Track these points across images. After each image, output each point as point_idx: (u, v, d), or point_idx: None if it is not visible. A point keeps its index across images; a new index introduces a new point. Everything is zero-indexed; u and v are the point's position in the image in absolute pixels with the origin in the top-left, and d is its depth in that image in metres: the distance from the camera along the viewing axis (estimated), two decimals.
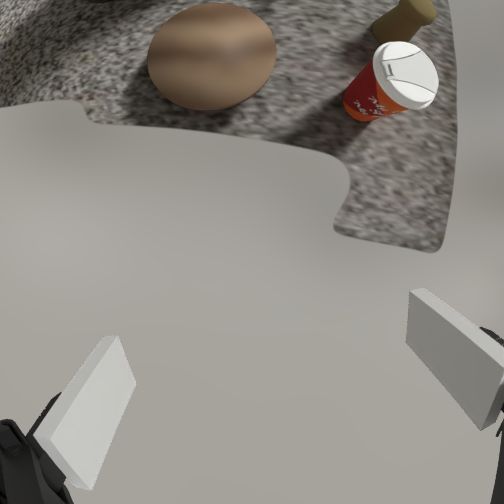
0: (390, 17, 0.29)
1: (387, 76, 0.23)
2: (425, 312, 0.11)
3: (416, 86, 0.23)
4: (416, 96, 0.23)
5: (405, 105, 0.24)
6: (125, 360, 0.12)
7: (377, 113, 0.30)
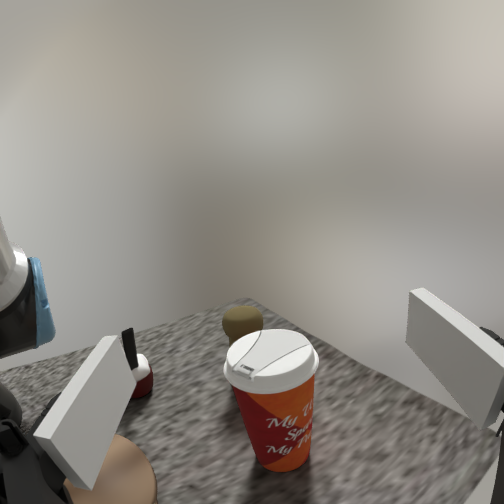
0: None
1: (250, 377, 0.21)
2: (425, 312, 0.11)
3: (286, 356, 0.22)
4: (295, 362, 0.21)
5: (297, 383, 0.20)
6: (125, 360, 0.12)
7: (296, 434, 0.22)
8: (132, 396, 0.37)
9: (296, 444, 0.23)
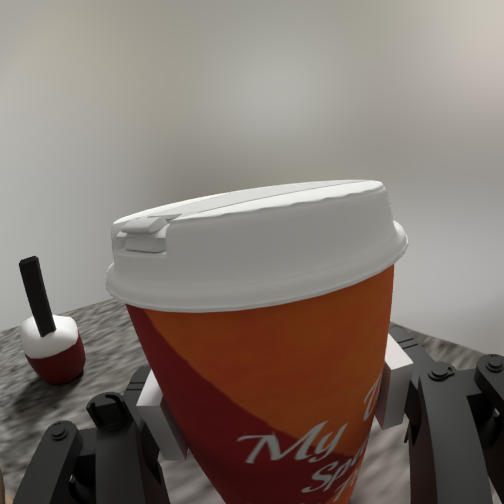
0: None
1: (162, 244, 0.05)
2: None
3: (303, 191, 0.06)
4: (341, 190, 0.05)
5: (362, 265, 0.05)
6: None
7: (334, 475, 0.07)
8: (50, 380, 0.21)
9: (330, 496, 0.07)
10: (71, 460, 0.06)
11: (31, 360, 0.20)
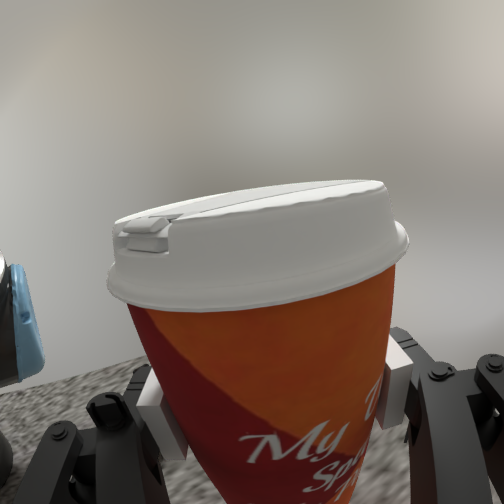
0: None
1: (163, 244, 0.05)
2: None
3: (305, 191, 0.06)
4: (343, 190, 0.05)
5: (364, 265, 0.05)
6: None
7: (335, 474, 0.07)
8: None
9: (331, 496, 0.07)
10: (71, 460, 0.06)
11: None
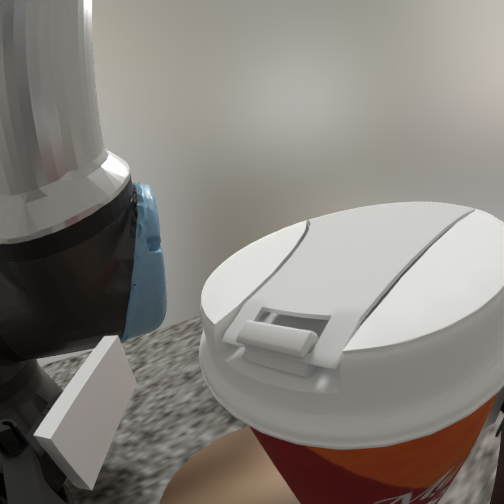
0: None
1: (314, 364, 0.04)
2: None
3: (438, 246, 0.05)
4: (491, 254, 0.04)
5: None
6: (125, 360, 0.12)
7: (440, 496, 0.05)
8: None
9: None
10: None
11: None
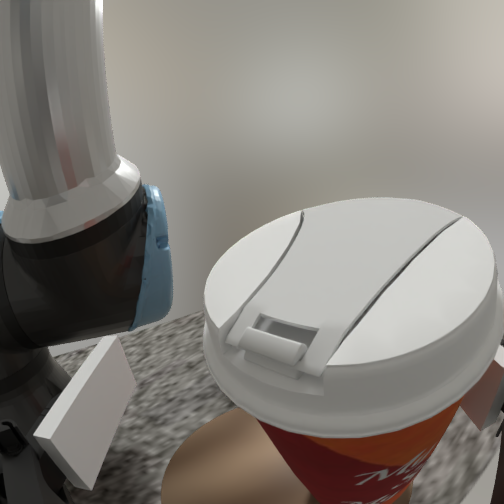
0: None
1: (303, 368, 0.05)
2: None
3: (420, 259, 0.05)
4: (468, 275, 0.04)
5: (485, 358, 0.04)
6: (125, 360, 0.12)
7: (416, 471, 0.07)
8: None
9: (408, 482, 0.08)
10: None
11: None
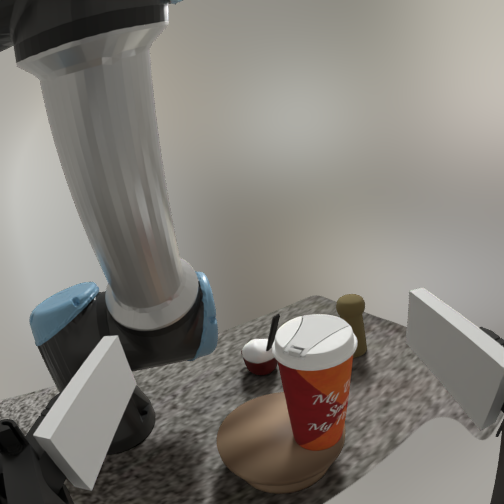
0: None
1: (301, 355, 0.23)
2: (425, 312, 0.11)
3: (330, 336, 0.24)
4: (339, 341, 0.24)
5: (342, 359, 0.23)
6: (125, 360, 0.12)
7: (336, 410, 0.25)
8: (264, 373, 0.50)
9: (335, 421, 0.25)
10: None
11: (257, 364, 0.49)
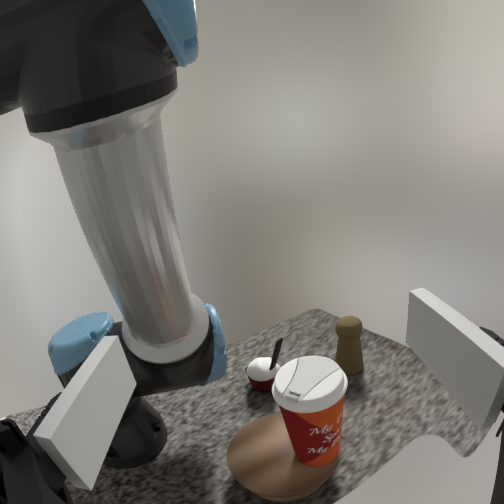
0: (342, 351, 0.54)
1: (297, 400, 0.26)
2: (425, 312, 0.11)
3: (323, 381, 0.27)
4: (331, 386, 0.26)
5: (333, 401, 0.25)
6: (125, 360, 0.12)
7: (331, 437, 0.27)
8: (267, 389, 0.53)
9: (331, 444, 0.28)
10: None
11: (261, 382, 0.52)
